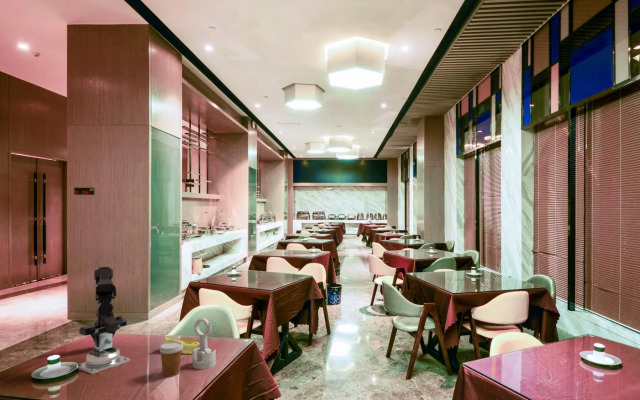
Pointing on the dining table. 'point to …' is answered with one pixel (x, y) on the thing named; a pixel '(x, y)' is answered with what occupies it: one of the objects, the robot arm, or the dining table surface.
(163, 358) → the disposable coffee cup
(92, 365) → the metal mounting base
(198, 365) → the engine component
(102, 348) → the block with peg
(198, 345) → the plastic component
